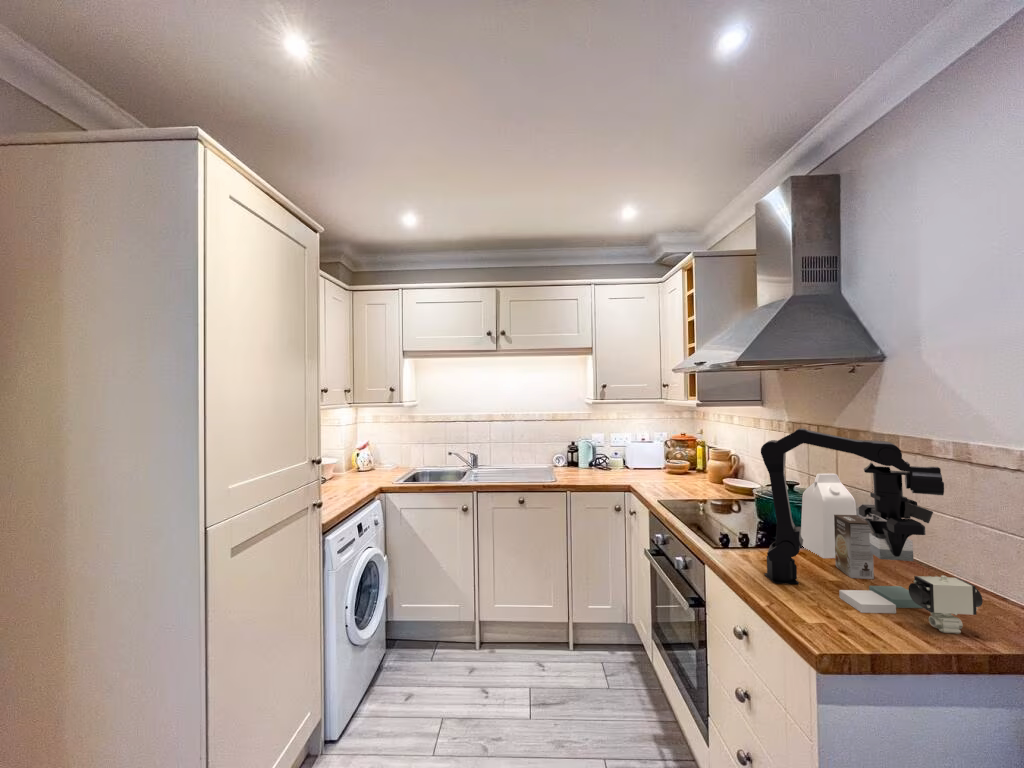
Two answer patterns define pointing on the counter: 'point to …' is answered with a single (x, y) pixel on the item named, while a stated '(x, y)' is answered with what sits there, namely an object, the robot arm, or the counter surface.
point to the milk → (824, 513)
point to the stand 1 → (867, 601)
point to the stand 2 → (895, 596)
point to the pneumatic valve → (945, 600)
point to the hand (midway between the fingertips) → (890, 552)
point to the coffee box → (853, 546)
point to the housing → (883, 550)
